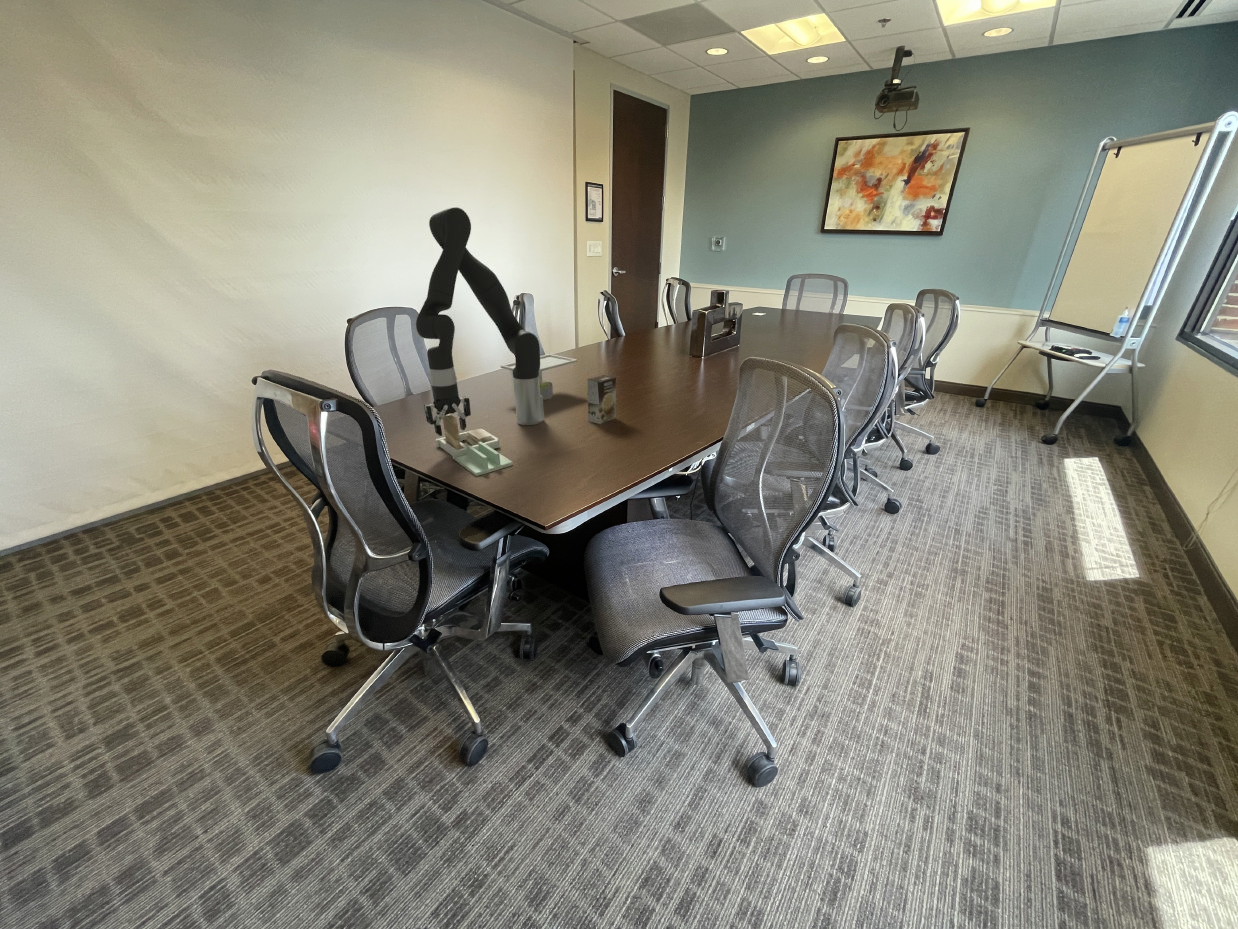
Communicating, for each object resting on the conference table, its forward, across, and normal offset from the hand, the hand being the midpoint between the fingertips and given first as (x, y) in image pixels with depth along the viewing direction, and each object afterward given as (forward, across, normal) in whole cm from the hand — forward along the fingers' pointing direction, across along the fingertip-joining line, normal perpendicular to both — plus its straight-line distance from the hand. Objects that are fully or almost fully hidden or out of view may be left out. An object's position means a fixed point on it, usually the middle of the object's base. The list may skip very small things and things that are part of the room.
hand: (451, 432), depth 159 cm
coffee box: (+7, -55, +8) cm, 56 cm away
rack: (+6, -5, 0) cm, 8 cm away
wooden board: (+6, 0, 0) cm, 6 cm away
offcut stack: (+6, -9, 0) cm, 11 cm away
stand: (+6, -3, +15) cm, 17 cm away
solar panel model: (+7, -53, -31) cm, 62 cm away
